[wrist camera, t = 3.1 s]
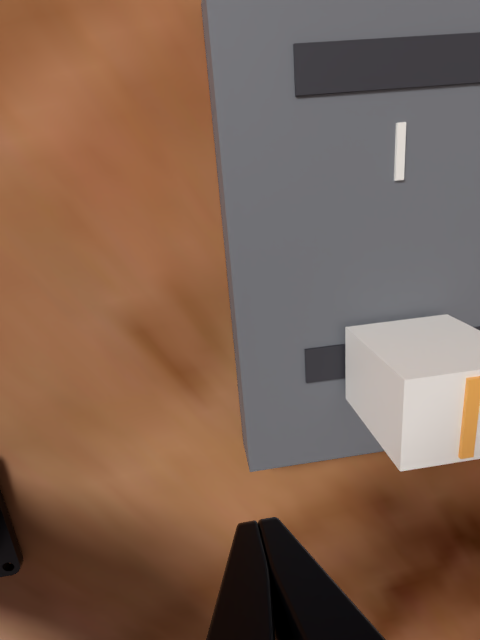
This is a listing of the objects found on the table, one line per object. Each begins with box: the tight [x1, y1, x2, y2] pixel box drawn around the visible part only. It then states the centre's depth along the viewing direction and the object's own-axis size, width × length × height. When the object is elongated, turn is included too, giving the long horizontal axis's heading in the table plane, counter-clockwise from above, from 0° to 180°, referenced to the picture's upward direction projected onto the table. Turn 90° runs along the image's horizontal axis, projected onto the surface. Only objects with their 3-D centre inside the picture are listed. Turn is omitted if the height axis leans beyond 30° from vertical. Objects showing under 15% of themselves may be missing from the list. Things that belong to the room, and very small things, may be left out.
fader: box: [345, 314, 480, 472], centre depth 14 cm, size 3×4×4 cm
